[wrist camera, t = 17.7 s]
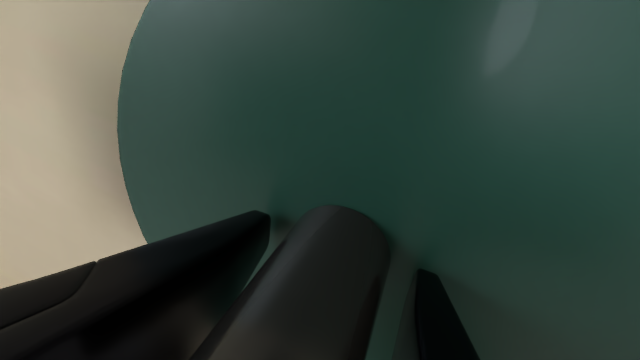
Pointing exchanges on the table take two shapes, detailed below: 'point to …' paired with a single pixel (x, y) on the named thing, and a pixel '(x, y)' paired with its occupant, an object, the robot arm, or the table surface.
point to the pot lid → (399, 166)
